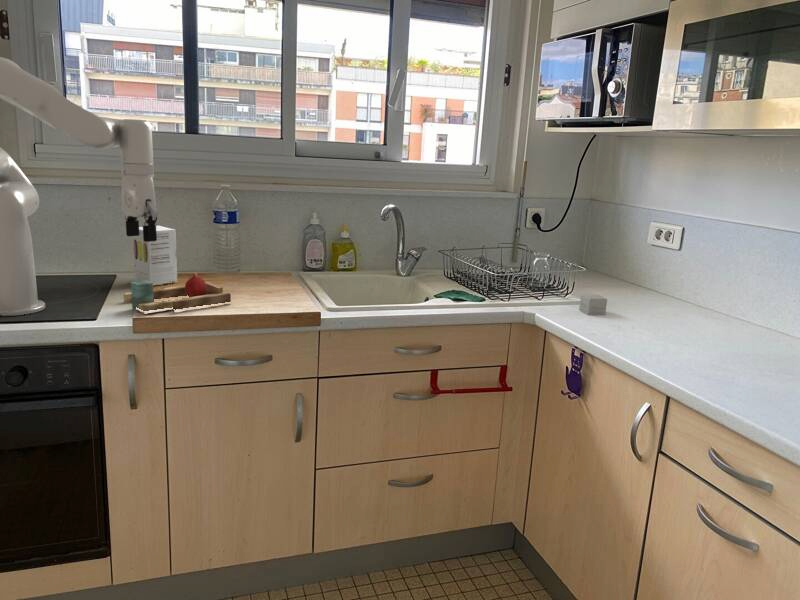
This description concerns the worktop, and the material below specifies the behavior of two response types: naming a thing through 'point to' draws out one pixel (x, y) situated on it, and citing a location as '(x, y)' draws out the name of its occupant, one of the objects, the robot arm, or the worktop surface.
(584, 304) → the small box
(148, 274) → the supplement box
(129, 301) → the broken strip
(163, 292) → the lane rails
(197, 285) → the onion
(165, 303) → the tan frame
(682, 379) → the worktop surface
